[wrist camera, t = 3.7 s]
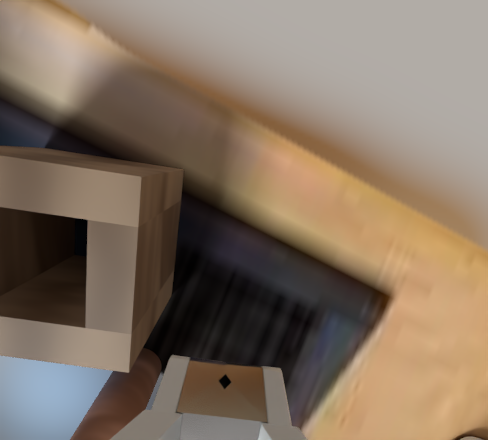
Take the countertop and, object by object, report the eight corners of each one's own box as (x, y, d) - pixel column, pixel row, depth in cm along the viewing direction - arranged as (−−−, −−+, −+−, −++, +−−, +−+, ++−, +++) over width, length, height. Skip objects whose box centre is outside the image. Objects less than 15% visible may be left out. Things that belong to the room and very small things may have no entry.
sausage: (163, 350, 23) (73, 555, 11) (159, 385, 23) (73, 610, 12) (121, 345, 23) (-13, 545, 11) (119, 379, 23) (-8, 601, 12)
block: (184, 169, 19) (141, 176, 11) (171, 295, 22) (128, 372, 14) (43, 147, 19) (-97, 140, 11) (46, 277, 21) (-71, 345, 13)
